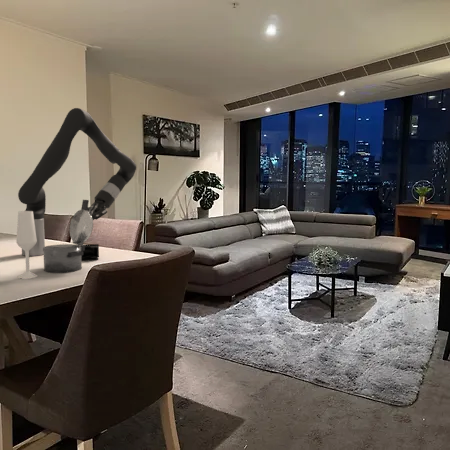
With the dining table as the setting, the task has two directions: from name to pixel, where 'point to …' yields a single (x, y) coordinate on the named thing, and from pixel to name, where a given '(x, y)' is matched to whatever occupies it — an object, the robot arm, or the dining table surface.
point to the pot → (63, 258)
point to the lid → (81, 225)
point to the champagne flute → (26, 238)
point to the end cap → (90, 252)
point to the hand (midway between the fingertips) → (84, 225)
